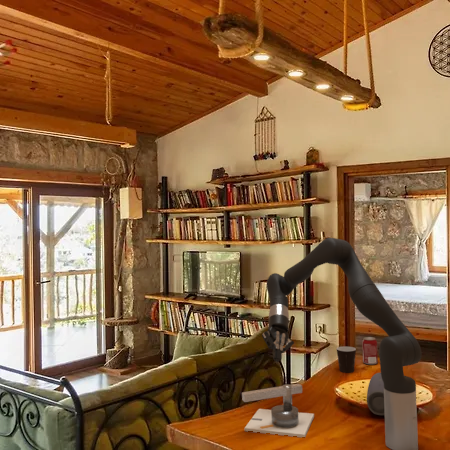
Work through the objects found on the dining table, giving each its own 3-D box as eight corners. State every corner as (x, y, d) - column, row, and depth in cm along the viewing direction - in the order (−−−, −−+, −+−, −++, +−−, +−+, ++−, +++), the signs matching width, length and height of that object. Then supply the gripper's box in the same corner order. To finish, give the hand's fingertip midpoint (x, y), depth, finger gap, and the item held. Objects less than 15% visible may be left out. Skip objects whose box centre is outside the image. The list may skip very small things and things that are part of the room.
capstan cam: (295, 414, 176) (294, 379, 176) (308, 423, 168) (306, 387, 168) (239, 424, 169) (238, 388, 169) (249, 434, 161) (248, 397, 161)
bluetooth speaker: (394, 420, 172) (393, 391, 172) (366, 417, 175) (365, 389, 175) (394, 397, 194) (394, 371, 194) (369, 395, 197) (368, 370, 197)
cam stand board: (314, 416, 178) (313, 413, 178) (304, 437, 161) (304, 434, 161) (259, 411, 184) (258, 408, 184) (244, 431, 167) (244, 427, 167)
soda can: (378, 365, 237) (377, 339, 237) (363, 365, 238) (362, 339, 238) (377, 361, 243) (376, 336, 243) (362, 361, 245) (361, 336, 245)
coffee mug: (342, 367, 236) (341, 345, 236) (359, 370, 231) (359, 348, 231) (330, 373, 227) (329, 351, 227) (348, 376, 222) (347, 353, 222)
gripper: (268, 308, 187) (266, 350, 175) (298, 320, 190) (298, 361, 178) (258, 318, 192) (255, 359, 180) (288, 329, 195) (287, 370, 183)
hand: (277, 360), depth 179 cm, fingers closed
